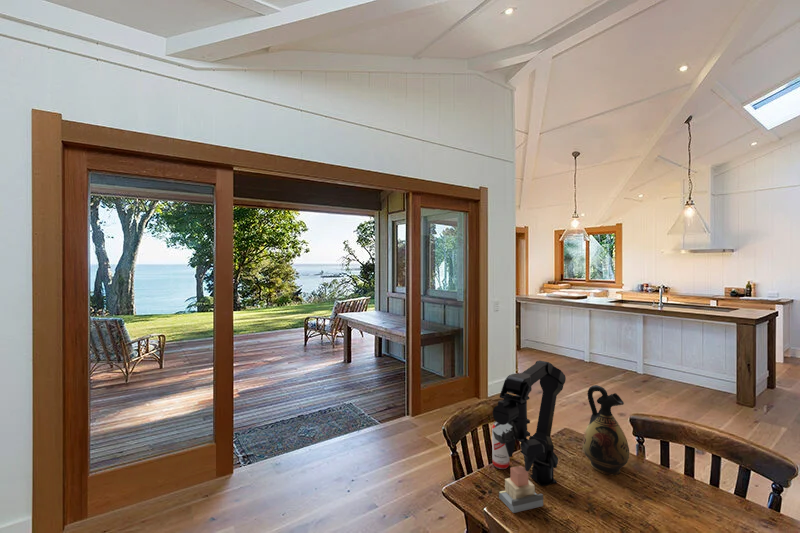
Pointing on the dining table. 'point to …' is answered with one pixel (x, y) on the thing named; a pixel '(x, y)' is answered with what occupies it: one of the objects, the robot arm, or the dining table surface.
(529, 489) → the beige slotted block
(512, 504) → the dock
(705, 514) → the dining table surface
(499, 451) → the beer can
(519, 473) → the block
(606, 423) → the ceramic jug
